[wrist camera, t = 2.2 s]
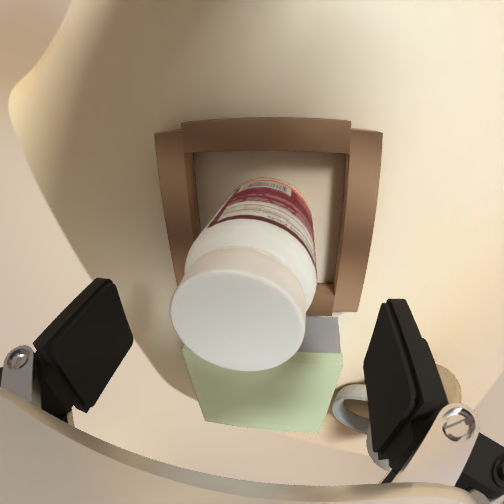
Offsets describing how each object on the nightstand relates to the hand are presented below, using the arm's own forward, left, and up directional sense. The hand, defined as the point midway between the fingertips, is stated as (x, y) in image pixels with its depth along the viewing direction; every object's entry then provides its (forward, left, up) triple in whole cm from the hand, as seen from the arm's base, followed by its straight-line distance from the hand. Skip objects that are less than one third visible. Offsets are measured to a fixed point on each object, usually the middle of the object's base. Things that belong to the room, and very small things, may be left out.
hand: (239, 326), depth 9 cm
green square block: (+10, 0, -7) cm, 12 cm away
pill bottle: (-1, 0, -8) cm, 8 cm away
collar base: (-1, 0, -7) cm, 7 cm away
